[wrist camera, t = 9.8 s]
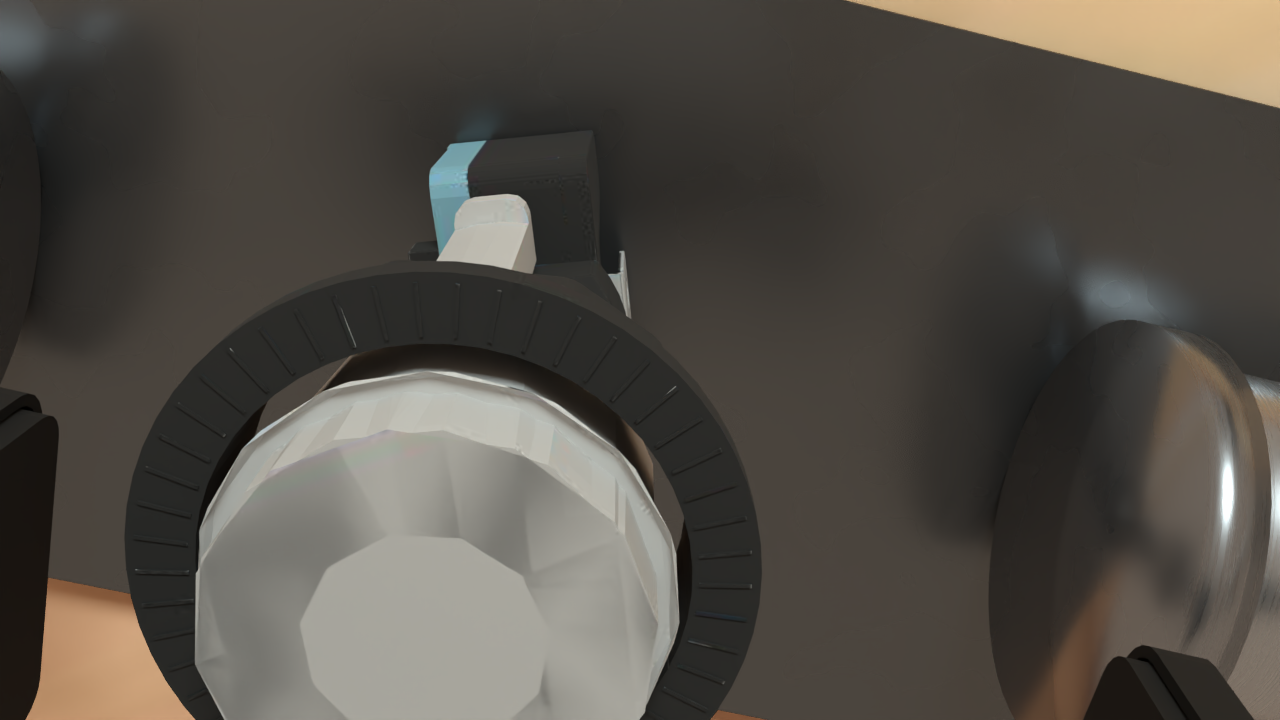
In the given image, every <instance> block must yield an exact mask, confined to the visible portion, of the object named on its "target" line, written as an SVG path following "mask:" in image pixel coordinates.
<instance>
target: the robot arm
mask: <svg viewBox="0 0 1280 720" xmlns="http://www.w3.org/2000/svg"><path fill="white" fill-rule="evenodd" d="M58 443H59V427H58V423H57V420H56V419H55V418H54V416H50V415H45V414H42V409H41V405H40V401H39V400H38V398H37V397H36V396H35V395H33V394H29V393H24V392H20V391H15V390H11V389H6V388H2V387H0V720H25V719H26V717H27V716H28V714H29V712H30V710H31V708H32V705H33V703H34V700H35V698H36V694H37V691H38V687H39V681H40V672H41V659H42V646H43V634H44V621H45V608H46V595H47V583H48V570H49V557H50V544H51V532H52V519H53V506H54V493H55V481H56V468H57V455H58ZM1083 720H1254V718H1253V717H1252V716H1251V714H1250V713H1249V712H1248V710H1247V709H1246V708H1245V706H1244V705H1243V703H1242V702H1241V701H1240V699H1239V698H1238V697H1237V695H1236V694H1235V693H1234V691H1233V690H1232V688H1231V687H1230V686H1229V684H1228V683H1227V682H1226V680H1225V679H1224V678H1223V676H1222V675H1221V673H1220V672H1219V671H1218V669H1217V668H1216V667H1215V666H1214V665H1213V664H1212V663H1211V662H1210V661H1209V660H1208V659H1204V658H1199V657H1195V656H1191V655H1186V654H1182V653H1177V652H1173V651H1168V650H1164V649H1159V648H1155V647H1151V646H1146V645H1141V646H1138V647H1136V648H1134V649H1133V650H1132V652H1131V653H1130V654H1129V655H1128V656H1127V658H1126V657H1122V656H1117V657H1115V658H1113V659H1112V660H1111V661H1110V662H1109V663H1108V664H1107V666H1106V668H1105V670H1104V672H1103V674H1102V676H1101V679H1100V681H1099V683H1098V686H1097V688H1096V690H1095V693H1094V695H1093V698H1092V700H1091V702H1090V705H1089V707H1088V709H1087V712H1086V714H1085V716H1084V719H1083Z"/></svg>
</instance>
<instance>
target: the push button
mask: <svg viewBox="0 0 1280 720" xmlns="http://www.w3.org/2000/svg"><path fill="white" fill-rule="evenodd" d="M429 188H430V197H431V204H432V211H433V217H434V224H435V230H436V236H437V241H427V242H417V243H415V244H414V245H413V247H412V248H411V250H410V251H409V252H408V259H409V260H393V261H390V262H387V263H384V264H382V265H378V266H372V267H367V268H362V269H357V270H352V271H348V272H345V273H342V274H339V275H336V276H332V277H329V278H326V279H323V280H320V281H317V282H314V283H312V284H310V285H308V286H305V287H303V288H301V289H298V290H296V291H294V292H292V293H289V294H287V295H285V296H283V297H282V298H280V299H278V300H277V301H275V302H273V303H271V304H270V305H268V306H266V307H264V308H263V309H261V310H259V311H258V312H256V313H255V314H253V315H252V316H251V317H249V318H248V319H247V320H245V321H244V322H243V323H241V324H240V325H239V326H237V327H236V328H235V329H233V330H232V331H231V332H230V333H229V334H228V335H226V336H225V337H224V338H223V339H222V340H221V341H220V342H219V343H218V344H217V345H216V346H215V347H214V348H213V349H212V350H211V351H210V352H208V353H207V354H206V355H205V356H204V357H203V358H202V359H201V360H200V361H199V362H198V363H197V364H196V365H195V366H194V367H193V368H192V370H191V371H190V372H189V373H188V374H187V376H186V377H185V378H184V379H183V380H182V382H181V383H180V384H179V385H178V386H177V388H176V389H175V390H174V391H173V393H172V394H171V396H170V397H169V399H168V400H167V402H166V403H165V405H164V407H163V408H162V410H161V411H160V413H159V414H158V416H157V418H156V419H155V421H154V423H153V425H152V428H151V430H150V432H149V434H148V436H147V438H146V440H145V442H144V444H143V446H142V449H141V452H140V455H139V458H138V461H137V464H136V467H135V470H134V473H133V476H132V481H131V486H130V491H129V496H128V501H127V506H126V520H125V534H124V541H125V560H126V571H127V577H128V583H129V588H130V594H131V599H132V602H133V606H134V609H135V612H136V616H137V619H138V623H139V626H140V628H141V631H142V633H143V636H144V638H145V640H146V643H147V645H148V647H149V650H150V652H151V654H152V656H153V658H154V660H155V662H156V663H157V665H158V667H159V669H160V671H161V672H162V674H163V676H164V678H165V680H166V681H167V683H168V684H169V686H170V687H171V688H172V690H173V691H174V693H175V694H176V696H177V697H178V698H179V700H180V701H181V703H182V704H183V706H184V707H185V708H186V709H187V710H188V711H189V713H190V714H191V715H192V716H193V717H194V718H195V720H710V719H711V718H712V717H713V715H714V714H715V713H716V712H717V710H718V708H719V707H720V705H721V704H722V702H723V700H724V699H725V697H726V695H727V694H728V692H729V691H730V689H731V687H732V685H733V683H734V681H735V679H736V677H737V675H738V673H739V671H740V669H741V666H742V664H743V662H744V660H745V657H746V654H747V651H748V648H749V645H750V642H751V639H752V636H753V633H754V628H755V623H756V619H757V614H758V609H759V604H760V593H761V581H762V559H761V541H760V535H759V529H758V522H757V516H756V511H755V506H754V501H753V496H752V493H751V489H750V486H749V482H748V479H747V475H746V471H745V468H744V465H743V463H742V460H741V458H740V456H739V453H738V451H737V448H736V446H735V443H734V441H733V439H732V437H731V435H730V433H729V431H728V429H727V428H726V426H725V424H724V422H723V420H722V419H721V417H720V415H719V413H718V411H717V410H716V408H715V407H714V406H713V404H712V403H711V401H710V400H709V399H708V397H707V396H706V394H705V393H704V392H703V390H702V389H701V387H700V386H699V384H698V383H697V382H696V381H695V380H694V379H693V378H692V377H691V375H690V374H689V373H688V372H687V371H686V370H685V369H684V368H683V366H682V365H681V364H680V363H679V362H678V361H677V360H676V359H675V358H674V357H673V356H672V355H671V354H670V353H669V352H667V351H666V350H665V349H664V348H663V346H662V344H661V343H660V341H659V340H658V339H657V338H656V337H655V336H654V335H653V334H652V333H650V332H649V331H647V330H646V329H644V328H643V327H642V326H640V325H639V324H637V323H636V322H635V321H633V320H632V319H631V309H630V299H629V289H628V279H627V269H626V260H625V253H624V251H619V266H618V270H619V272H618V273H614V274H607V273H606V272H605V270H604V269H603V268H602V266H601V258H600V245H599V222H600V185H599V174H598V165H597V156H596V147H595V139H594V133H593V131H592V130H587V131H577V132H567V133H558V134H548V135H538V136H528V137H517V138H507V139H497V140H487V141H476V142H466V143H456V144H450V145H449V146H448V147H447V151H446V152H445V153H444V154H443V156H442V157H441V158H440V159H439V160H438V161H437V162H436V163H435V165H434V166H433V167H432V168H431V170H430V174H429ZM346 357H348V358H347V360H346V361H345V362H344V363H343V364H342V365H341V366H340V368H339V369H338V370H337V371H336V372H335V373H334V374H333V376H332V377H331V378H330V379H329V380H328V381H327V382H326V383H325V385H324V386H323V387H322V388H321V389H320V390H319V391H318V393H317V394H316V395H315V396H314V397H313V398H312V399H310V400H309V401H307V402H305V403H304V404H302V405H301V406H299V407H297V408H296V409H294V410H293V411H291V412H290V413H288V414H286V415H285V416H283V417H282V418H280V419H278V420H277V421H275V422H274V423H272V424H271V425H269V426H267V427H266V428H264V429H263V430H261V431H260V432H259V433H258V434H257V435H256V436H255V434H256V431H257V427H258V424H259V421H260V418H261V415H262V413H263V410H264V408H265V406H266V404H267V402H268V400H269V399H271V398H272V397H273V396H274V395H275V394H277V393H278V392H280V391H281V390H283V389H284V388H286V387H287V386H289V385H290V384H291V383H293V382H294V381H296V380H297V379H299V378H301V377H303V376H305V375H307V374H309V373H311V372H313V371H315V370H317V369H319V368H321V367H323V366H325V365H327V364H329V363H332V362H335V361H338V360H341V359H343V358H346ZM644 443H645V444H646V446H647V447H648V449H649V450H650V451H651V453H652V454H653V455H654V457H655V458H656V459H657V461H658V462H659V464H660V466H661V467H662V469H663V471H664V473H665V475H666V476H667V478H668V480H669V482H670V484H671V486H672V487H673V489H674V492H675V495H676V497H677V500H678V502H679V505H680V507H681V510H682V512H683V515H684V522H683V528H682V534H681V539H680V542H679V545H678V549H677V552H675V548H674V544H673V540H672V537H671V533H670V531H669V530H668V528H667V526H666V524H665V522H664V520H663V519H662V517H661V515H660V513H659V511H658V509H657V508H656V506H655V504H654V482H653V463H652V461H651V458H650V456H649V453H648V451H647V449H646V446H645V444H644Z"/></svg>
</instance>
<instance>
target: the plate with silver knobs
mask: <svg viewBox="0 0 1280 720" xmlns="http://www.w3.org/2000/svg"><path fill="white" fill-rule="evenodd" d="M587 130H592V131H593V133H594V139H595V147H596V156H597V165H598V174H599V185H600V222H599V245H600V258H601V266H602V268H603V269H604V270H605V272H606V273H607V274H614V273H618V272H619V270H618V266H619V251H624V253H625V260H626V269H627V279H628V289H629V299H630V309H631V319H632V320H633V321H635V322H636V323H637V324H639V325H640V326H642V327H643V328H644V329H646V330H647V331H649V332H650V333H652V334H653V335H654V336H655V337H656V338H657V339H658V340H659V341H660V343H661V344H662V346H663V348H664V349H665V350H666V351H667V352H669V353H670V354H671V355H672V356H673V357H674V358H675V359H676V360H677V361H678V362H679V363H680V364H681V365H682V366H683V368H684V369H685V370H686V371H687V372H688V373H689V374H690V375H691V377H692V378H693V379H694V380H695V381H696V382H697V383H698V384H699V386H700V387H701V389H702V390H703V392H704V393H705V394H706V396H707V397H708V399H709V400H710V401H711V403H712V404H713V406H714V407H715V408H716V410H717V411H718V413H719V415H720V417H721V419H722V420H723V422H724V424H725V426H726V428H727V429H728V431H729V433H730V435H731V437H732V439H733V441H734V443H735V446H736V448H737V451H738V453H739V456H740V458H741V460H742V463H743V465H744V468H745V471H746V475H747V479H748V482H749V486H750V489H751V493H752V496H753V501H754V506H755V511H756V516H757V522H758V529H759V535H760V541H761V559H762V581H761V593H760V604H759V609H758V614H757V619H756V623H755V628H754V633H753V636H752V639H751V642H750V645H749V648H748V651H747V654H746V657H745V660H744V662H743V664H742V666H741V669H740V671H739V673H738V675H737V677H736V679H735V681H734V683H733V685H732V687H731V689H730V691H729V692H728V694H727V695H726V697H725V699H724V700H723V702H722V704H721V705H720V707H719V708H718V710H721V711H726V712H731V713H736V714H741V715H746V716H751V717H756V718H761V719H767V720H1083V719H1084V716H1085V714H1086V712H1087V709H1088V707H1089V705H1090V702H1091V700H1092V698H1093V695H1094V693H1095V690H1096V688H1097V686H1098V683H1099V681H1100V679H1101V676H1102V674H1103V672H1104V670H1105V668H1106V666H1107V664H1108V663H1109V662H1110V661H1111V660H1112V659H1113V658H1115V657H1117V656H1122V657H1126V658H1127V656H1128V655H1129V654H1130V653H1131V652H1132V650H1133V649H1134V648H1136V647H1138V646H1141V645H1146V646H1151V647H1155V648H1159V649H1164V650H1168V651H1173V652H1177V653H1182V654H1186V655H1191V656H1195V657H1199V658H1204V659H1208V660H1209V661H1210V662H1211V663H1212V664H1213V665H1214V666H1215V667H1216V668H1217V669H1218V671H1219V672H1220V673H1221V675H1222V676H1223V678H1224V679H1225V680H1226V682H1227V683H1228V684H1229V686H1230V687H1231V688H1232V690H1233V691H1234V693H1235V694H1236V695H1237V697H1238V698H1239V699H1240V701H1241V702H1242V703H1243V705H1244V706H1245V708H1246V709H1247V710H1248V712H1249V713H1250V714H1251V716H1252V717H1253V718H1254V720H1280V108H1277V107H1273V106H1269V105H1265V104H1261V103H1257V102H1253V101H1249V100H1245V99H1241V98H1237V97H1233V96H1229V95H1225V94H1221V93H1217V92H1213V91H1209V90H1205V89H1201V88H1197V87H1193V86H1189V85H1185V84H1181V83H1177V82H1173V81H1169V80H1165V79H1161V78H1157V77H1153V76H1148V75H1144V74H1140V73H1136V72H1132V71H1128V70H1124V69H1120V68H1116V67H1112V66H1108V65H1104V64H1100V63H1096V62H1092V61H1088V60H1084V59H1080V58H1076V57H1072V56H1068V55H1064V54H1060V53H1056V52H1052V51H1048V50H1044V49H1040V48H1036V47H1032V46H1028V45H1024V44H1020V43H1015V42H1011V41H1007V40H1003V39H999V38H995V37H991V36H987V35H983V34H979V33H975V32H971V31H967V30H963V29H959V28H955V27H951V26H947V25H943V24H939V23H935V22H931V21H927V20H923V19H919V18H915V17H911V16H907V15H903V14H899V13H895V12H891V11H887V10H882V9H878V8H874V7H870V6H866V5H862V4H858V3H854V2H850V1H846V0H0V387H2V388H6V389H11V390H15V391H20V392H24V393H29V394H33V395H35V396H36V397H37V398H38V400H39V401H40V405H41V409H42V414H45V415H50V416H54V418H55V419H56V420H57V423H58V427H59V443H58V455H57V468H56V481H55V493H54V506H53V519H52V532H51V544H50V557H49V570H48V578H54V579H59V580H64V581H69V582H74V583H79V584H84V585H89V586H94V587H99V588H104V589H109V590H114V591H119V592H124V593H129V594H130V588H129V583H128V577H127V571H126V560H125V541H124V534H125V520H126V506H127V501H128V496H129V491H130V486H131V481H132V476H133V473H134V470H135V467H136V464H137V461H138V458H139V455H140V452H141V449H142V446H143V444H144V442H145V440H146V438H147V436H148V434H149V432H150V430H151V428H152V425H153V423H154V421H155V419H156V418H157V416H158V414H159V413H160V411H161V410H162V408H163V407H164V405H165V403H166V402H167V400H168V399H169V397H170V396H171V394H172V393H173V391H174V390H175V389H176V388H177V386H178V385H179V384H180V383H181V382H182V380H183V379H184V378H185V377H186V376H187V374H188V373H189V372H190V371H191V370H192V368H193V367H194V366H195V365H196V364H197V363H198V362H199V361H200V360H201V359H202V358H203V357H204V356H205V355H206V354H207V353H208V352H210V351H211V350H212V349H213V348H214V347H215V346H216V345H217V344H218V343H219V342H220V341H221V340H222V339H223V338H224V337H225V336H226V335H228V334H229V333H230V332H231V331H232V330H233V329H235V328H236V327H237V326H239V325H240V324H241V323H243V322H244V321H245V320H247V319H248V318H249V317H251V316H252V315H253V314H255V313H256V312H258V311H259V310H261V309H263V308H264V307H266V306H268V305H270V304H271V303H273V302H275V301H277V300H278V299H280V298H282V297H283V296H285V295H287V294H289V293H292V292H294V291H296V290H298V289H301V288H303V287H305V286H308V285H310V284H312V283H314V282H317V281H320V280H323V279H326V278H329V277H332V276H336V275H339V274H342V273H345V272H348V271H352V270H357V269H362V268H367V267H372V266H378V265H382V264H384V263H387V262H390V261H393V260H409V259H408V252H409V251H410V250H411V248H412V247H413V245H414V244H415V243H417V242H427V241H437V236H436V230H435V224H434V217H433V211H432V204H431V197H430V188H429V174H430V170H431V168H432V167H433V166H434V165H435V163H436V162H437V161H438V160H439V159H440V158H441V157H442V156H443V154H444V153H445V152H446V151H447V147H448V146H449V145H450V144H456V143H466V142H476V141H487V140H497V139H507V138H517V137H528V136H538V135H548V134H558V133H567V132H577V131H587ZM347 358H348V357H346V358H343V359H341V360H338V361H335V362H332V363H329V364H327V365H325V366H323V367H321V368H319V369H317V370H315V371H313V372H311V373H309V374H307V375H305V376H303V377H301V378H299V379H297V380H296V381H294V382H293V383H291V384H290V385H289V386H287V387H286V388H284V389H283V390H281V391H280V392H278V393H277V394H275V395H274V396H273V397H272V398H271V399H269V400H268V402H267V404H266V406H265V408H264V410H263V413H262V415H261V418H260V421H259V424H258V427H257V431H256V434H255V436H256V435H257V434H258V433H259V432H260V431H261V430H263V429H264V428H266V427H267V426H269V425H271V424H272V423H274V422H275V421H277V420H278V419H280V418H282V417H283V416H285V415H286V414H288V413H290V412H291V411H293V410H294V409H296V408H297V407H299V406H301V405H302V404H304V403H305V402H307V401H309V400H310V399H312V398H313V397H314V396H315V395H316V394H317V393H318V391H319V390H320V389H321V388H322V387H323V386H324V385H325V383H326V382H327V381H328V380H329V379H330V378H331V377H332V376H333V374H334V373H335V372H336V371H337V370H338V369H339V368H340V366H341V365H342V364H343V363H344V362H345V361H346V360H347ZM644 444H645V443H644ZM645 446H646V444H645ZM646 449H647V451H648V453H649V456H650V458H651V461H652V463H653V482H654V504H655V506H656V508H657V509H658V511H659V513H660V515H661V517H662V519H663V520H664V522H665V524H666V526H667V528H668V530H669V531H670V533H671V537H672V540H673V544H674V548H675V552H677V549H678V545H679V542H680V539H681V534H682V528H683V522H684V515H683V512H682V510H681V507H680V505H679V502H678V500H677V497H676V495H675V492H674V489H673V487H672V486H671V484H670V482H669V480H668V478H667V476H666V475H665V473H664V471H663V469H662V467H661V466H660V464H659V462H658V461H657V459H656V458H655V457H654V455H653V454H652V453H651V451H650V450H649V449H648V447H647V446H646Z"/></svg>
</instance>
